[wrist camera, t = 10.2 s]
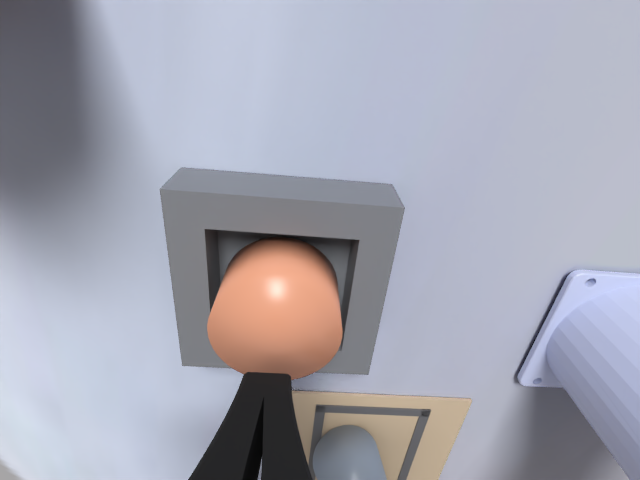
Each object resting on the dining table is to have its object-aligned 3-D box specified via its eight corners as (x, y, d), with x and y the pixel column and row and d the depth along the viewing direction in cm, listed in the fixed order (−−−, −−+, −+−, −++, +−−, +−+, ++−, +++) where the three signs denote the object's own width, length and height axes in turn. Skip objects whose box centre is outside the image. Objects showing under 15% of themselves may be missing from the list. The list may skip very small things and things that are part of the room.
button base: (392, 184, 16) (404, 207, 14) (362, 338, 20) (368, 375, 18) (181, 167, 15) (160, 189, 13) (196, 329, 20) (182, 365, 18)
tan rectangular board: (470, 398, 23) (472, 402, 23) (415, 526, 31) (416, 530, 30) (277, 389, 22) (277, 394, 22) (270, 523, 30) (270, 527, 30)
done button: (344, 241, 15) (350, 283, 13) (331, 332, 18) (334, 383, 15) (222, 232, 15) (202, 274, 12) (226, 326, 17) (210, 377, 15)
